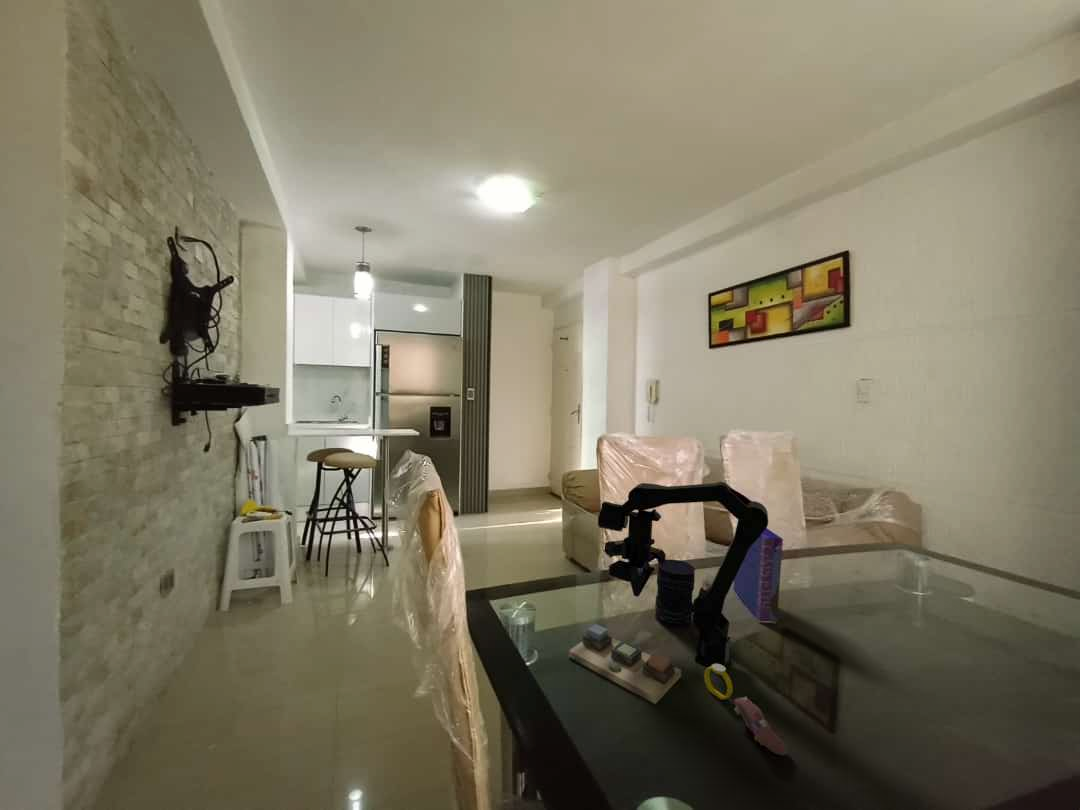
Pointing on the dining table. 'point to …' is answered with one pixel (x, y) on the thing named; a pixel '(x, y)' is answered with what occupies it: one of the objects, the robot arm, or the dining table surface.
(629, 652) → the sage button
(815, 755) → the dining table surface
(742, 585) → the cereal box
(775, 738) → the pink shoe
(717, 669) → the gold ring
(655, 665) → the terracotta button
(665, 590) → the storage jar
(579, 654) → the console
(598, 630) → the slate button
